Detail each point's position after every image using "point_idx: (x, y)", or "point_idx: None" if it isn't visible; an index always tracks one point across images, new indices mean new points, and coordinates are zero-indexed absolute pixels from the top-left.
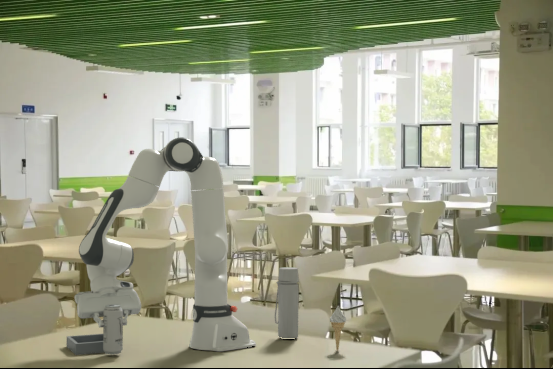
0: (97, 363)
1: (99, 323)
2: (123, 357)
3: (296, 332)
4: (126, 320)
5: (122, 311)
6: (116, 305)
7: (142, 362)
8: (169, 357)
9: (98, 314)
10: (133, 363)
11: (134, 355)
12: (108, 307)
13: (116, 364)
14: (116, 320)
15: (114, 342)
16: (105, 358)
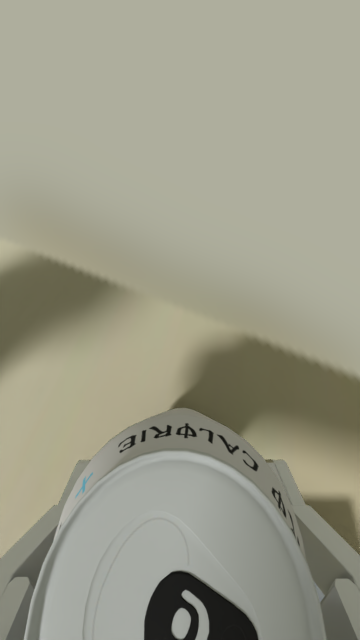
0: (250, 348)
1: (289, 480)
2: (156, 401)
3: None
4: (75, 473)
5: (78, 480)
6: (102, 633)
7: (129, 312)
8: (35, 343)
9: (346, 601)
10: (155, 310)
11: (112, 419)
12: (266, 500)
13: (200, 316)
14: (171, 411)
15: (185, 408)
16: (215, 411)
